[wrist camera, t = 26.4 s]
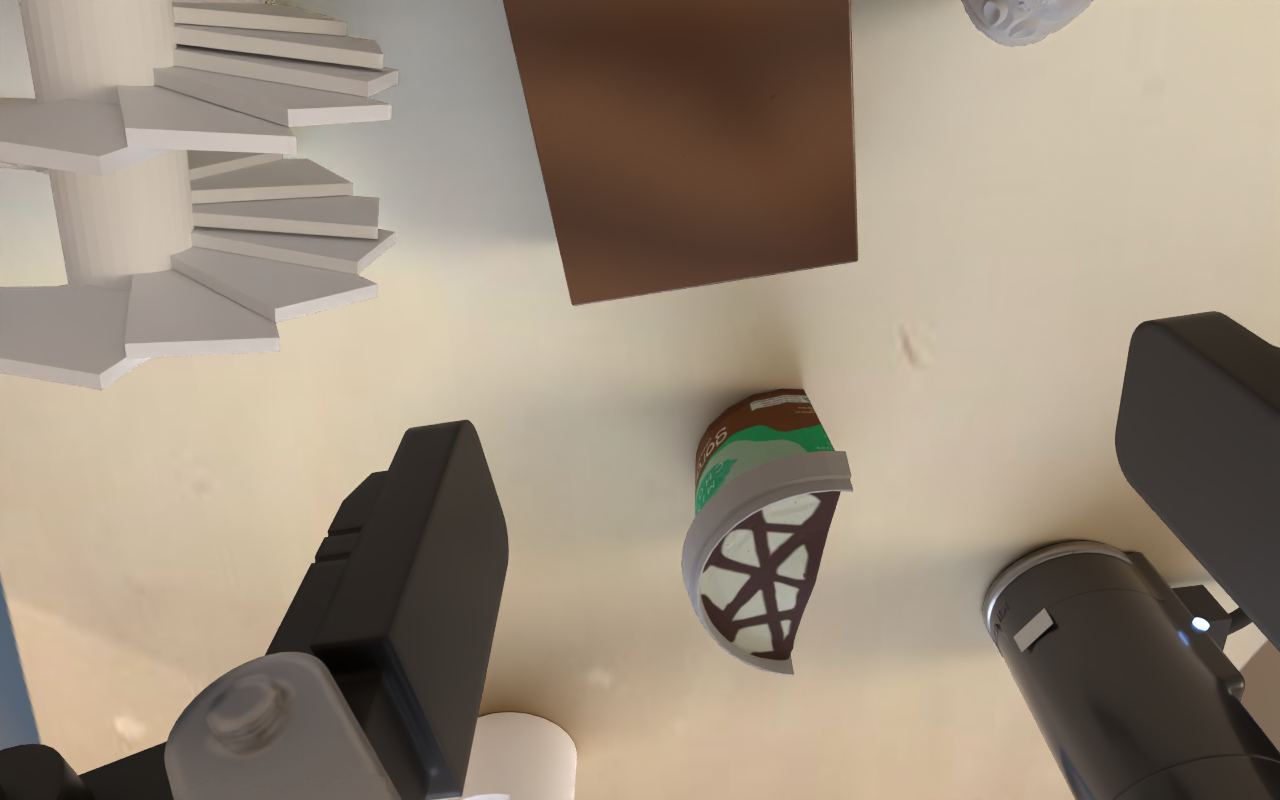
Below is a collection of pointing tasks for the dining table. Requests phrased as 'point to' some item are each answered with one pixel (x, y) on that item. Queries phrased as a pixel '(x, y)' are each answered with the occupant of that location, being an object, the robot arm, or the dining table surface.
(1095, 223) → the dining table surface
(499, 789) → the base with upright slab
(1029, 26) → the grey rounded lumpy piece
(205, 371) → the dining table surface
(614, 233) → the chest lid
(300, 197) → the spiral staircase
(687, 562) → the food container
